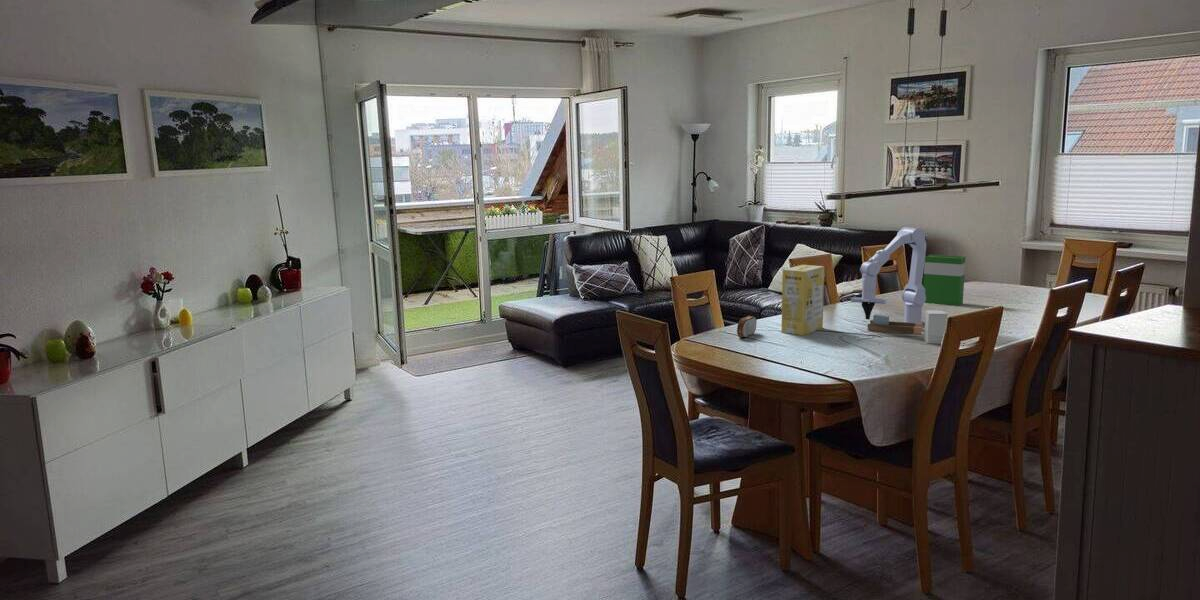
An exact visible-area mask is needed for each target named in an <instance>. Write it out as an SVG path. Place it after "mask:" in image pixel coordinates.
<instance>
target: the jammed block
mask: <svg viewBox="0 0 1200 600" xmlns="http://www.w3.org/2000/svg"><path fill="white" fill-rule="evenodd" d="M872 320H873V324H880V325H889V321H890V314H879V313H874V315H873V317H872Z"/></svg>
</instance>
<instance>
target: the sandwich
mask: <svg viewBox="0 0 1200 600" xmlns="http://www.w3.org/2000/svg"><path fill="white" fill-rule="evenodd" d="M757 322H758V321H757V317H755V316H753V315H752V316H751V315H747V316H745V317H742V318H740V319H739V321H738V323H737V327H736V334H737V337H738V338H742V337H746V336H748V335H750V336H752V335H754V334H755V332H756V330H757V329H756V328H757ZM753 333H754V334H753ZM751 334H752V335H751ZM748 337H749V336H748ZM746 338H747V337H746Z"/></svg>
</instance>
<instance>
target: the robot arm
mask: <svg viewBox="0 0 1200 600" xmlns="http://www.w3.org/2000/svg"><path fill="white" fill-rule="evenodd" d="M926 235H927V234H926V232H925V231H924V230H923V229H921V228H916V227H909V226H904V227H902V228H901V229H900V230H899V231H897V234H896V236H895V237H894V238H893V239H892V240H891V241H890V243H888V245H887V246H885V248H884V249H879V250H877V251H876V252H875V253H874V255H873V256H872V257H870V258H869V259H868V260H867V261H864V262H863V263H862V264H861V266H860V267H859V272H860V273H861V277H862V281H861V282H862V284H861V297H854V296H852V297H851V298H850V302H851V303H861V307H862V310H863V312H864V315H865V320H871V314H872V312H873V309H874V307H875V305H876V304H881V305H886V304H887V299H885V298H877V297H876V292H877V290H876V289H877V275H878V274H879V273H880V270H881V269H882V267H883V265H885V264H886V263H887V262H888V261H889V260H890V255H892V254H893V253H894V252H895V251H896V250H898V248H900V247H901V246H902V245H905V244H906V245H907V244H908V245H909V246H910V247H911V248H912V254H911V262H910V270H909V276H908V277H909V278H908V283H907V284H906V285H905V286H904V288H903V291H902V293H901V299H902V300H903V302H904V303H903V304H904V319H903V322H909V323H923V322H924V321H923V320H922V315H923V311H922V310H923V306H924V304H926V303H925V301H926V295H925V288H924V287H923V279H924V262H925V256H926V255H927V253H926V252H927V242H926Z"/></svg>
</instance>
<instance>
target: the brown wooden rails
mask: <svg viewBox="0 0 1200 600" xmlns="http://www.w3.org/2000/svg"><path fill="white" fill-rule="evenodd" d="M923 329H924V324H923V323H909V322H904V321H890V320H889V325H880V324H873V319H869V323H867V331H868V330H869V332H880V331H882V332H883V333H884V332H885V333H895V332H896V333H897V334H910V335H911V334H912V335H913V334H914V335H922V331H923Z"/></svg>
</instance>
